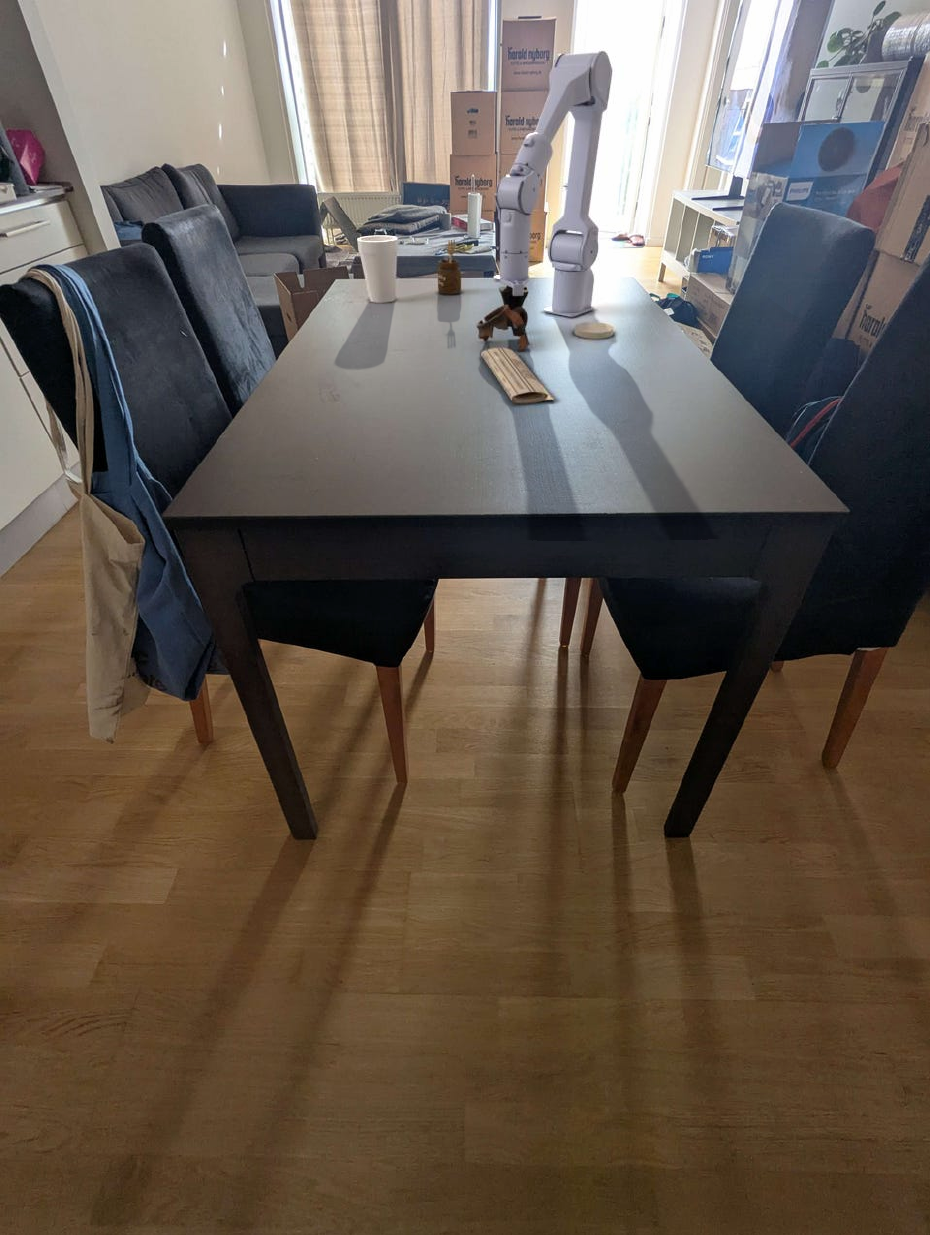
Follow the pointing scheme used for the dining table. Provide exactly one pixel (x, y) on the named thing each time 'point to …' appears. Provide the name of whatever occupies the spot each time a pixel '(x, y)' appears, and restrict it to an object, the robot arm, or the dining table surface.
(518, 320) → the brown curved piece
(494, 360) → the newspaper
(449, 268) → the utensil holder
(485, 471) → the dining table surface
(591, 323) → the tan round disc
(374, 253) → the foam cup
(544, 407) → the dining table surface
